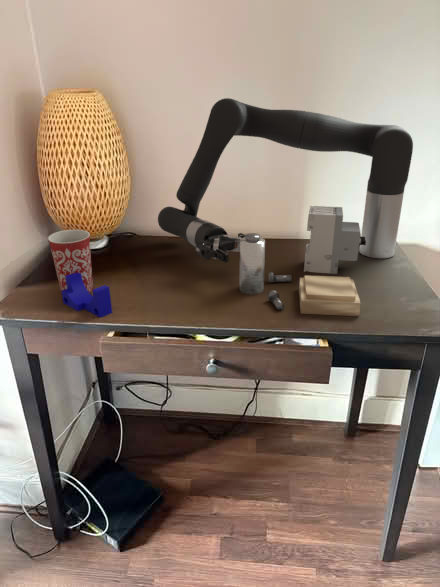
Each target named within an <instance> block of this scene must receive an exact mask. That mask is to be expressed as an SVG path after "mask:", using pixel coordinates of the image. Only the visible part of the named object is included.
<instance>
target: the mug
mask: <svg viewBox="0 0 440 587" xmlns="http://www.w3.org/2000/svg"><path fill="white" fill-rule="evenodd" d="M90 237H91V234H90V232H89V231H87V230H84V229H83V230H82V229H65V230H59V231H56V232H53V233H51V234H50V235H48V236H47V241H48V243H49V246H50V251H51V254H52V255H51V256H52V260H53V264H54V267H55V271H56V276H57V279H58V280H57V282H58V284H59V289H60V293H61V294H62V292H61V291H62V290H65V289H67V283H66V277H65V276H67V275H70V274H73V273H80V274H81V276H82V280H83V283H84V285H85V287H86V289H87V291H88V292H89V293H90V294H91V292H93V289H94V284H93V271H92V270H93V268H92V255H91V253H92V252H91V244H90V243H91V242H90V241H91V240H90Z"/></svg>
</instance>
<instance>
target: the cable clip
mask: <svg viewBox="0 0 440 587" xmlns="http://www.w3.org/2000/svg"><path fill="white" fill-rule="evenodd" d="M65 277H66V283H67V289H65V290H62V291H61V290H60V293H61V292H62V293H61V296H62V297H61V298H62V303H63V304H65V305H66V306H67V307H69V308H72V309H73V310H75V311H77V312H80V311H82V310H86V311H88V312H89V313H91V314H93V315H94V316H96V317H99V318H100V319H101V318H103V317H106V316H108V315H110V314H113V308H112V300H111V298H112V297H111V293H110V292H111V291H110V290H111V289H110V287H109V286H107V285H106V284H104V285H101V286H98V287H96V288H93V289H92V294H91V292H90V293H89V292H88V291H87V289H86V287H85V285H84V283H83V280H82V276H81V274H80V273H73V274H70V275H67V276H65Z"/></svg>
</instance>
